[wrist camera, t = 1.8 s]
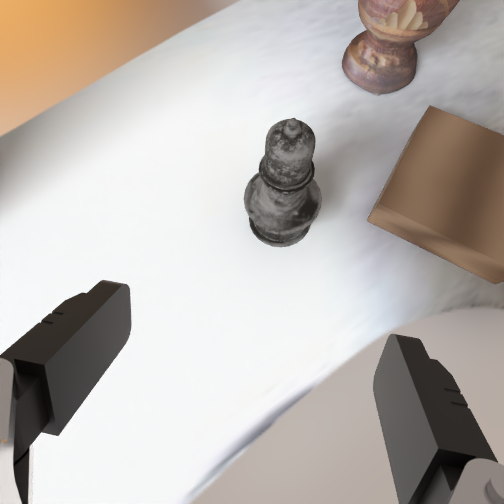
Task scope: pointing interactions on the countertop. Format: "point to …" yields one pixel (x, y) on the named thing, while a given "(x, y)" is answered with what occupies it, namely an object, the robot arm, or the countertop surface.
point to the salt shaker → (284, 186)
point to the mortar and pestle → (391, 41)
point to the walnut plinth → (449, 194)
